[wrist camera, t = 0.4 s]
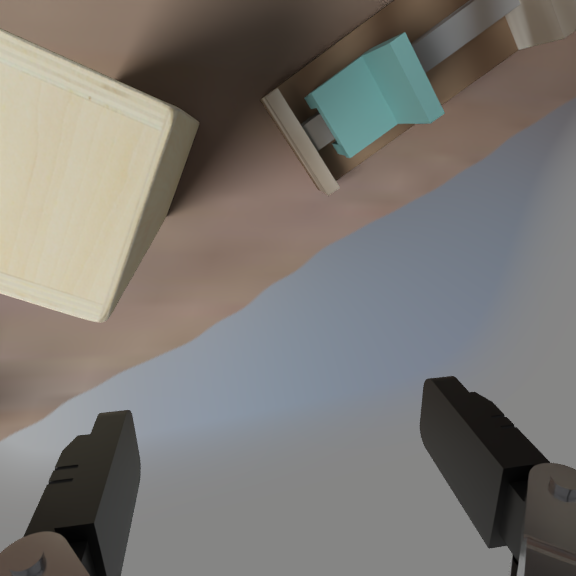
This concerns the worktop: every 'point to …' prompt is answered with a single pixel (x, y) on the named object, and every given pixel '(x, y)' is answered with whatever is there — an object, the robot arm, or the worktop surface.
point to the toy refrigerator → (80, 179)
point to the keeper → (375, 96)
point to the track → (380, 33)
